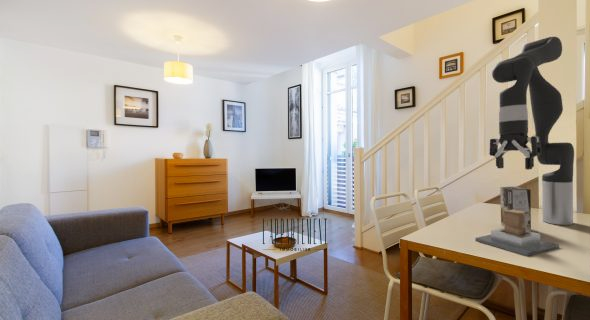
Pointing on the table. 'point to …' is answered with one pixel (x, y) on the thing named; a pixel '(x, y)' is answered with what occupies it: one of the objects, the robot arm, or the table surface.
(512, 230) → the brown rectangular block
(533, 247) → the stepped grey base plate
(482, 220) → the table surface
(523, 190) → the coffee box
